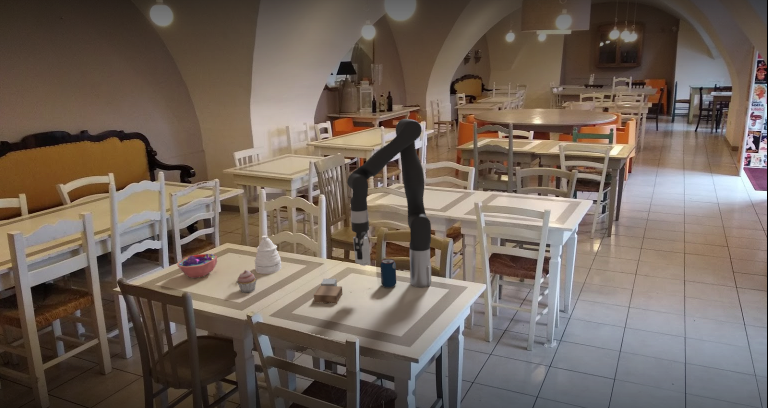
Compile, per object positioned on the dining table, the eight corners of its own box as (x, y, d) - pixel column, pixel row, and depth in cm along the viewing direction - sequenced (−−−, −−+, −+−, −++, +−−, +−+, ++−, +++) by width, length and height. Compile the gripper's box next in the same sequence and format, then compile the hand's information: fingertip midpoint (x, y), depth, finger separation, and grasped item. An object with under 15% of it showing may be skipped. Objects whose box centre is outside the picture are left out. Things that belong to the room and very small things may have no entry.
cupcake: (233, 291, 255) (231, 270, 253) (250, 284, 262) (248, 264, 259) (244, 296, 249) (242, 275, 247) (262, 289, 256) (260, 269, 253)
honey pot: (278, 273, 275) (275, 238, 271) (252, 274, 275) (249, 239, 271) (283, 264, 288) (280, 230, 283) (258, 265, 288) (255, 231, 283)
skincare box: (371, 263, 242) (369, 237, 239) (362, 266, 240) (361, 239, 237) (362, 260, 247) (360, 234, 244) (354, 263, 244) (352, 236, 241)
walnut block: (342, 294, 248) (342, 286, 247) (336, 304, 238) (336, 295, 237) (320, 294, 249) (320, 285, 248) (314, 303, 240) (313, 294, 239)
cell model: (226, 271, 280) (224, 250, 277) (194, 285, 264) (191, 263, 261) (204, 266, 289) (201, 245, 286) (171, 279, 273) (168, 257, 270)
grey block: (336, 286, 256) (336, 278, 255) (334, 292, 251) (334, 283, 250) (324, 286, 257) (323, 278, 256) (321, 292, 251) (321, 283, 250)
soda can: (399, 284, 255) (398, 260, 252) (389, 289, 251) (388, 264, 248) (388, 281, 260) (387, 257, 257) (378, 285, 255) (377, 261, 252)
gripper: (364, 224, 231) (366, 262, 235) (372, 215, 244) (374, 251, 249) (346, 224, 233) (349, 261, 237) (355, 215, 246) (358, 250, 250)
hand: (362, 256), depth 243 cm, fingers closed on skincare box, 7 cm apart
